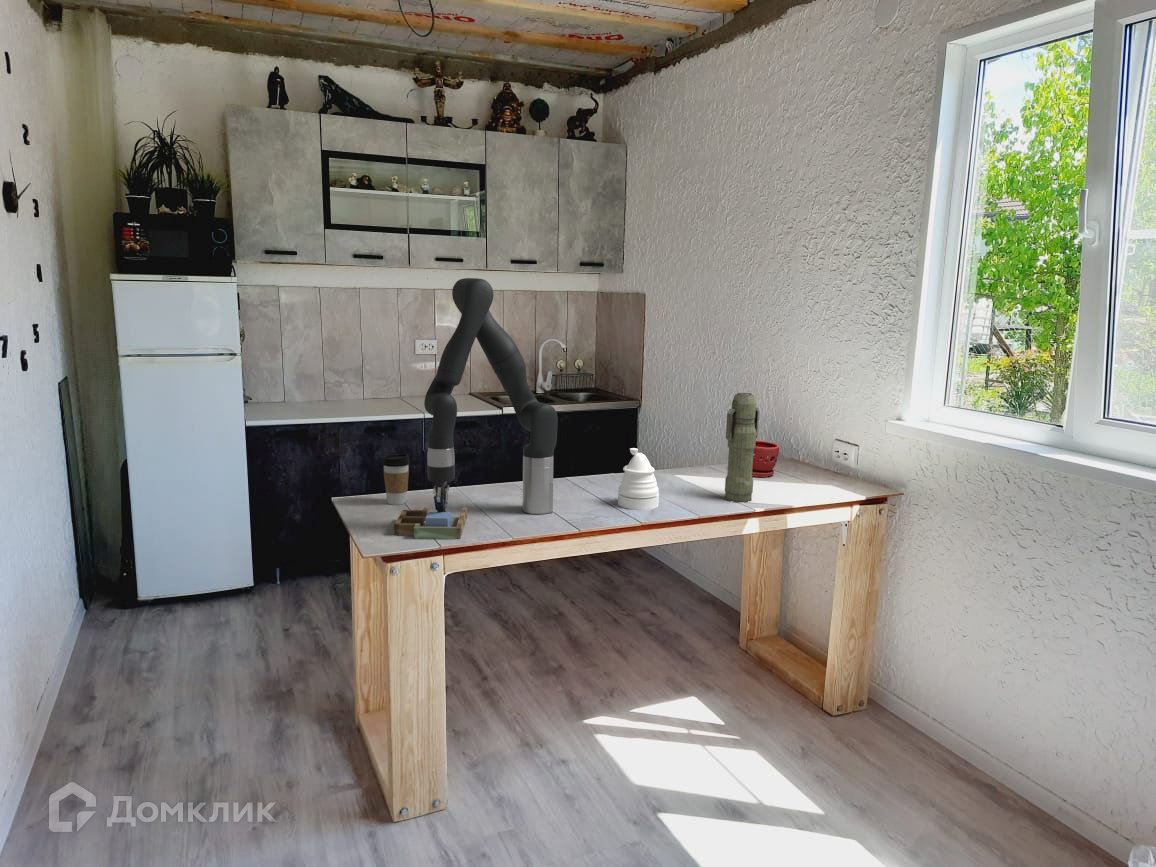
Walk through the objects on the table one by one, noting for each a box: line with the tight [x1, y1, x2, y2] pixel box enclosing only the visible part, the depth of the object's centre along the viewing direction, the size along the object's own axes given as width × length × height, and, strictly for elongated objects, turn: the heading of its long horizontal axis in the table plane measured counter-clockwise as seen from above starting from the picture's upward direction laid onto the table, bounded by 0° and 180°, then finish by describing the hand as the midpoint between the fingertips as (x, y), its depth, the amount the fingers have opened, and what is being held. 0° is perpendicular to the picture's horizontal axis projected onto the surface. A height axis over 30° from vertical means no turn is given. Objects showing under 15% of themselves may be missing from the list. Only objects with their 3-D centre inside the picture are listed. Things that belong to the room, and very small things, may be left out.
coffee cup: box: [381, 453, 411, 506], centre depth 243 cm, size 8×8×15 cm
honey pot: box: [617, 447, 660, 511], centre depth 247 cm, size 13×13×18 cm
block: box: [424, 511, 452, 527], centre depth 215 cm, size 6×6×5 cm
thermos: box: [724, 392, 760, 503], centre depth 254 cm, size 9×12×35 cm
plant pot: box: [752, 440, 780, 478], centre depth 292 cm, size 13×13×12 cm
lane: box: [393, 506, 468, 540], centre depth 220 cm, size 20×18×3 cm
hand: (441, 522), depth 221 cm, fingers closed
